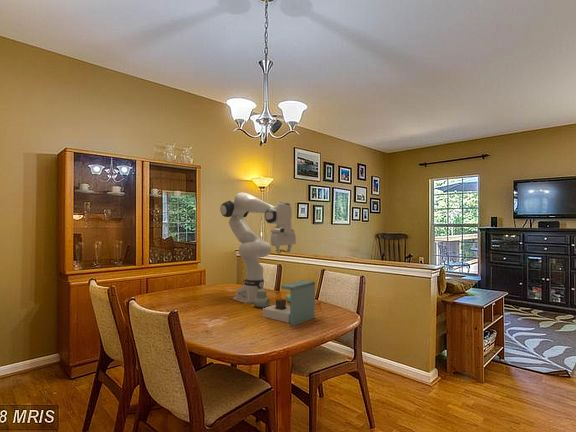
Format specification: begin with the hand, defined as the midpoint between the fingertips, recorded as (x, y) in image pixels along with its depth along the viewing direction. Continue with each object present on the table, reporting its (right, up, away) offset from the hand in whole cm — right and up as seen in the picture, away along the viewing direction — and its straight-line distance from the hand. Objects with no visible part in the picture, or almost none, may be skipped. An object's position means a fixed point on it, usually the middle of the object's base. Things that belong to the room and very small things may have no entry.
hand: (283, 252), depth 203 cm
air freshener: (-14, -34, +9) cm, 38 cm away
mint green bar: (+8, -35, +15) cm, 39 cm away
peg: (-2, -34, -12) cm, 36 cm away
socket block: (0, -34, -13) cm, 36 cm away
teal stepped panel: (+8, -34, -19) cm, 40 cm away
